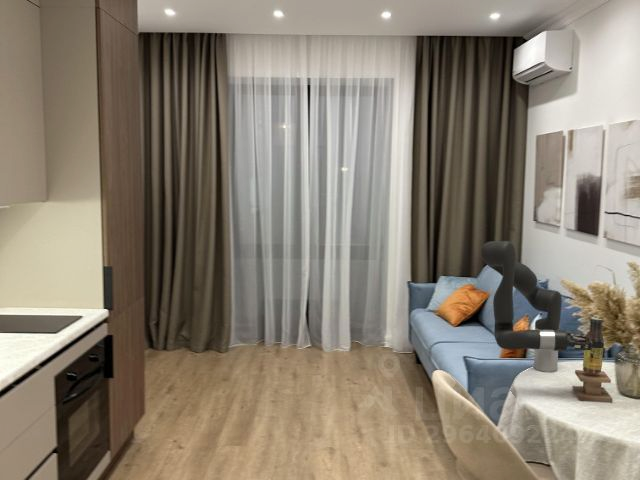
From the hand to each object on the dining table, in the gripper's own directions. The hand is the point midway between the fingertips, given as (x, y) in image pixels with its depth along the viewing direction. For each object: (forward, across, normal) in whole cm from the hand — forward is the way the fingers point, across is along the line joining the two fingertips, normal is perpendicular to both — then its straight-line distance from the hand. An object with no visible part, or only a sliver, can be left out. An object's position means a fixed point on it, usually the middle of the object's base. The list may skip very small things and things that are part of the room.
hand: (600, 342), depth 216 cm
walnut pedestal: (-2, 0, +20) cm, 20 cm away
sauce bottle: (-2, 0, +11) cm, 11 cm away
